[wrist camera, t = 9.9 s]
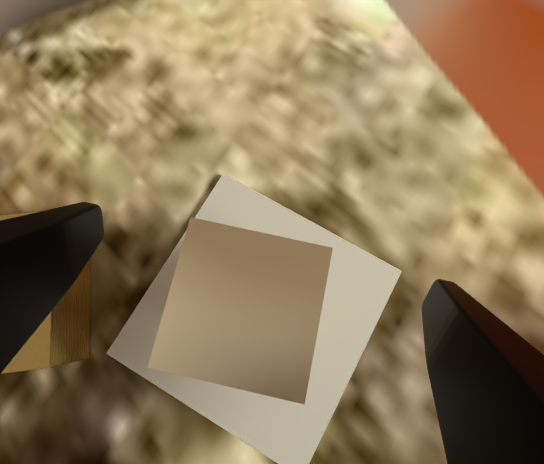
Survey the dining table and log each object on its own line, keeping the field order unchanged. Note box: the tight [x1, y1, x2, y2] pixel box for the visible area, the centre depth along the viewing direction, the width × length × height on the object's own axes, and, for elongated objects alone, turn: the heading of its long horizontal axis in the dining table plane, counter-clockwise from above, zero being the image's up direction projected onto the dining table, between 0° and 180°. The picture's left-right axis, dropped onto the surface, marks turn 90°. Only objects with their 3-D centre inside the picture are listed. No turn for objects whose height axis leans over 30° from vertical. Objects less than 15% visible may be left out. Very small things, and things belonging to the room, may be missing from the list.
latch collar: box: [0, 211, 90, 374], centre depth 15 cm, size 6×6×3 cm
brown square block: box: [147, 217, 333, 405], centre depth 11 cm, size 3×3×10 cm
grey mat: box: [106, 174, 402, 464], centre depth 16 cm, size 10×10×1 cm
